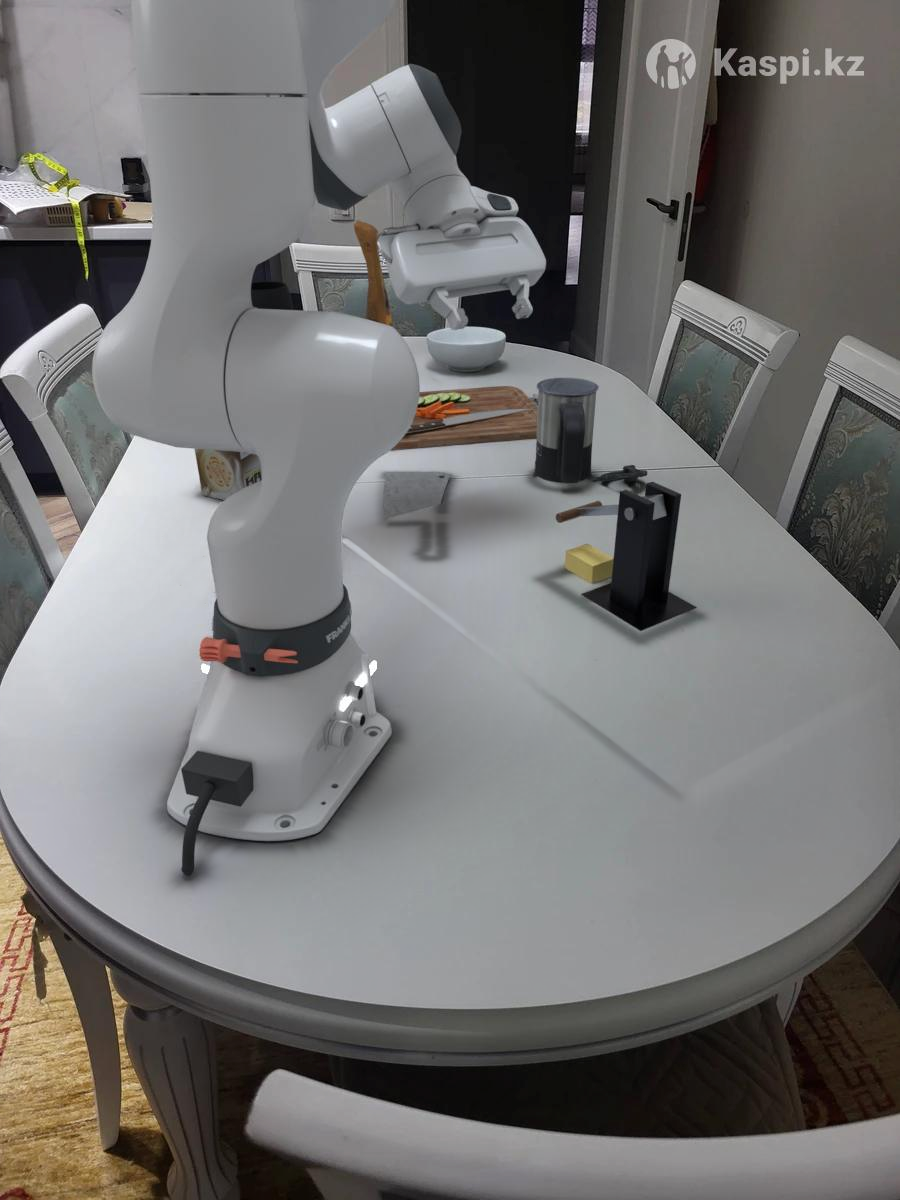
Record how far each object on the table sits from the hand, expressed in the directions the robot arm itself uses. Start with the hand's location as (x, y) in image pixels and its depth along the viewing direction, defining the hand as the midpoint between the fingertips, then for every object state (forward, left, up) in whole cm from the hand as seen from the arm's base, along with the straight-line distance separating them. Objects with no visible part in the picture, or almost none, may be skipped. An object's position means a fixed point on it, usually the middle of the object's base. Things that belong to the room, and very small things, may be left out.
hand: (494, 321), depth 104 cm
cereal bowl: (+84, +18, -30) cm, 91 cm away
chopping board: (+48, +18, -30) cm, 60 cm away
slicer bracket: (-14, -20, -29) cm, 38 cm away
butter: (-7, -13, -28) cm, 32 cm away
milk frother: (+24, -12, -30) cm, 40 cm away
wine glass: (+63, +54, -30) cm, 89 cm away
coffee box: (+10, +40, -30) cm, 51 cm away
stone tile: (+8, +12, -29) cm, 33 cm away
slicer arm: (-10, -16, -20) cm, 27 cm away
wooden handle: (+93, +40, -30) cm, 106 cm away
